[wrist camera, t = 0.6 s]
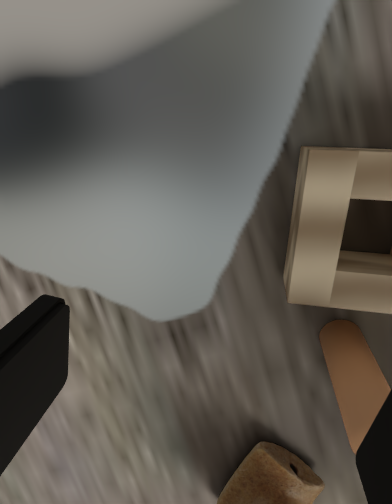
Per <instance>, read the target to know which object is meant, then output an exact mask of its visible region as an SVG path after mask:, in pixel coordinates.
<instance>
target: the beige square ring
mask: <svg viewBox="0 0 392 504" xmlns="http://www.w3.org/2000/svg"><path fill="white" fill-rule="evenodd" d="M350 198H351V199H368V200H385V201H392V149H370V148H343V147H315V146H301V150H300V157H299V165H298V172H297V180H296V187H295V194H294V202H293V209H292V216H291V224H290V231H289V239H288V246H287V253H286V261H285V268H284V275H283V279H284V285H285V290H286V296H287V302H288V303H294V304H303V305H312V306H322V307H331V308H340V309H349V310H358V311H368V312H377V313H386V314H392V248H391V252H390V254H379V253H367V252H355V251H343V250H340V247H341V242H342V237H343V232H344V227H345V222H346V217H347V212H348V206H349V201H350Z"/></svg>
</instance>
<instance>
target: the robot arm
mask: <svg viewBox="0 0 392 504" xmlns="http://www.w3.org/2000/svg"><path fill="white" fill-rule="evenodd" d="M69 315H70V308H69V306H68V305H65V301H64V299H62V298H58V297H54V296H50V295H46V294H45V295H42V296H40V297H39V298H38V299H37V300H35V301H34V302H33V303H32V304H31V305H29V306H28V307H27V308H26V309H25V310H23V311H22V312H21V313H20V314H19V315H17V316H16V317H15V318H14V319H13V320H11V321H10V322H9V323H8V324H7V325H5V326H4V327H3V328H2V329H1V330H0V476H1V474H2V473H3V472H4V470H5V469H6V467H7V466H8V464H9V463H10V462H11V460H12V459H13V457H14V456H15V455H16V453H17V452H18V450H19V449H20V447H21V446H22V445H23V443H24V442H25V440H26V439H27V437H28V436H29V435H30V433H31V432H32V430H33V429H34V428H35V426H36V425H37V423H38V422H39V420H40V419H41V418H42V416H43V415H44V413H45V412H46V410H47V409H48V408H49V406H50V405H51V403H52V402H53V401H54V399H55V398H56V396H57V395H58V393H59V392H60V391H61V389H62V388H63V386H64V384H65V382H66V380H67V376H68V350H69ZM356 465H357V469H358V472H359V475H360V479H361V482H362V485H363V488H364V492H365V495H366V498H367V501H368V504H392V389H391V391H390V393H389V394H388V396H387V398H386V400H385V402H384V403H383V405H382V407H381V409H380V410H379V412H378V414H377V416H376V418H375V419H374V421H373V423H372V425H371V427H370V428H369V430H368V432H367V434H366V435H365V437H364V439H363V441H362V443H361V444H360V446H359V448H358V450H357V452H356Z"/></svg>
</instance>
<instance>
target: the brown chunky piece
mask: <svg viewBox="0 0 392 504" xmlns="http://www.w3.org/2000/svg"><path fill="white" fill-rule="evenodd" d="M324 486H325V484H324V482H323V481H322V479H321V478H320V477H318V476H317V475H316V474H315V473H314V472H313V471H312V469H311V468H310V467H309V466H308V465H306V464H305V463H304V462H303V461H302V460H301V459H300V458H298V457H297V456H296V455H295V454H293V453H291V452H289V451H288V450H286V449H285V448H283V447H281V446H279V445H275V444H274V443H269V442H259V443H258V444H257V445H256V446H255V447H254V448H253V449H252V450H251V452H250V453H249V454H248V455H247V456H246V457H245V459H244V460H243V462H242V463H241V464H240V466H239V467H238V468H237V470H236V471H235V472H234V474H233V475H232V477H231V478H230V479H229V481H228V482H227V484H226V486H225V487H224V489H223V491H222V492H221V494H220V496H219V498H218V501H217V504H312V503H313V501H314V500H315V498H316V497H317V496H318V495H319V494H320V492H321V491H322V490H323V489H324Z"/></svg>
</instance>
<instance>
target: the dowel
mask: <svg viewBox="0 0 392 504" xmlns="http://www.w3.org/2000/svg"><path fill="white" fill-rule="evenodd" d="M319 340H320V343H321V347H322V350H323V354H324V357H325V361H326V364H327V367H328V371H329V374H330V378H331V381H332V384H333V388H334V391H335V395H336V398H337V401H338V405H339V408H340V412H341V415H342V418H343V422H344V425H345V429H346V432H347V435H348V439H349V442H350V446H351V448H352V450H353V452H354V453H355V455H356V452H357V450H358V448H359V446H360V444H361V443H362V441H363V439H364V437H365V435H366V434H367V432H368V430H369V428H370V427H371V425H372V423H373V421H374V419H375V418H376V416H377V414H378V412H379V410H380V409H381V407H382V405H383V403H384V402H385V400H386V398H387V396H388V394H389V393H390V391H391V389H390V387H389V385H388V383H387V381H386V379H385V377H384V375H383V373H382V371H381V369H380V367H379V365H378V363H377V362H376V360H375V358H374V356H373V354H372V352H371V350H370V348H369V346H368V344H367V342H366V340H365V338H364V336H363V334H362V332H361V330H360V328H359V327H358V326H357V325H356V324H354V323H353V322H351V321H348V320H334V321H331V322H329V323H327V324H326V325H325V326H324V327H323V328H322V329H321V331H320V334H319Z"/></svg>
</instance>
